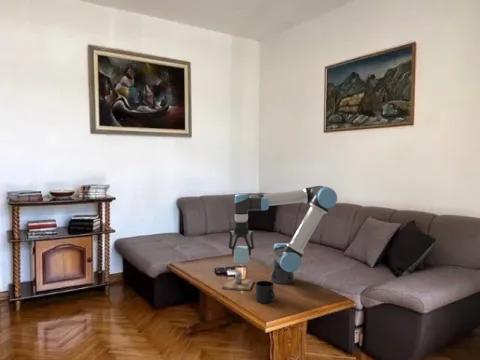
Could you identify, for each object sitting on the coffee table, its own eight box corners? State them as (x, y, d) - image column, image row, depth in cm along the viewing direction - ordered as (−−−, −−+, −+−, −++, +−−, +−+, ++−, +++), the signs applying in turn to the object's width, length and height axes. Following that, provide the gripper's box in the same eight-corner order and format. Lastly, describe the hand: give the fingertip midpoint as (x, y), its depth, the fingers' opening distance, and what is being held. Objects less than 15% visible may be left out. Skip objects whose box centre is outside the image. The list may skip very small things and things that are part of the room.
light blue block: (248, 259, 217) (248, 245, 217) (246, 263, 210) (246, 247, 210) (236, 259, 218) (236, 244, 218) (234, 262, 211) (234, 247, 211)
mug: (267, 306, 190) (268, 289, 189) (251, 299, 199) (252, 283, 198) (280, 302, 196) (280, 285, 196) (264, 295, 205) (264, 279, 205)
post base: (253, 281, 228) (253, 270, 228) (249, 290, 212) (249, 278, 212) (228, 280, 231) (228, 268, 231) (222, 288, 215) (222, 276, 215)
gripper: (259, 220, 215) (259, 259, 217) (225, 219, 218) (225, 258, 219) (258, 222, 208) (258, 263, 209) (222, 221, 210) (223, 262, 212)
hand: (241, 260), depth 214 cm, fingers closed on light blue block, 7 cm apart
